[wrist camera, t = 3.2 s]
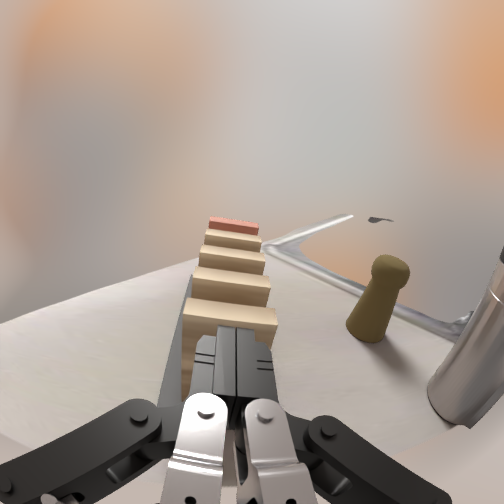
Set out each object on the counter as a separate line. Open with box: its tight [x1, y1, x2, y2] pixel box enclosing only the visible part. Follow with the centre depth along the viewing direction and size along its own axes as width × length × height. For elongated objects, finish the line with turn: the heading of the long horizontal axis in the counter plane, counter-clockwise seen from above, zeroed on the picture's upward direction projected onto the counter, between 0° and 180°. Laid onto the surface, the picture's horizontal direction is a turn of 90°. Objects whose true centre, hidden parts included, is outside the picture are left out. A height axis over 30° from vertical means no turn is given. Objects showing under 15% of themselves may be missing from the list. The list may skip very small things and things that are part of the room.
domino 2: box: [204, 228, 262, 253], centre depth 32 cm, size 2×6×10 cm, turn 93°
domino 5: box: [181, 297, 278, 402], centre depth 20 cm, size 2×6×10 cm, turn 93°
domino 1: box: [208, 216, 259, 236], centre depth 36 cm, size 2×6×10 cm, turn 93°
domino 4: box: [191, 266, 271, 308], centre depth 24 cm, size 2×6×10 cm, turn 93°
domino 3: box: [198, 245, 265, 275], centre depth 28 cm, size 2×6×10 cm, turn 93°
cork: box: [346, 255, 410, 343], centre depth 33 cm, size 6×6×11 cm
